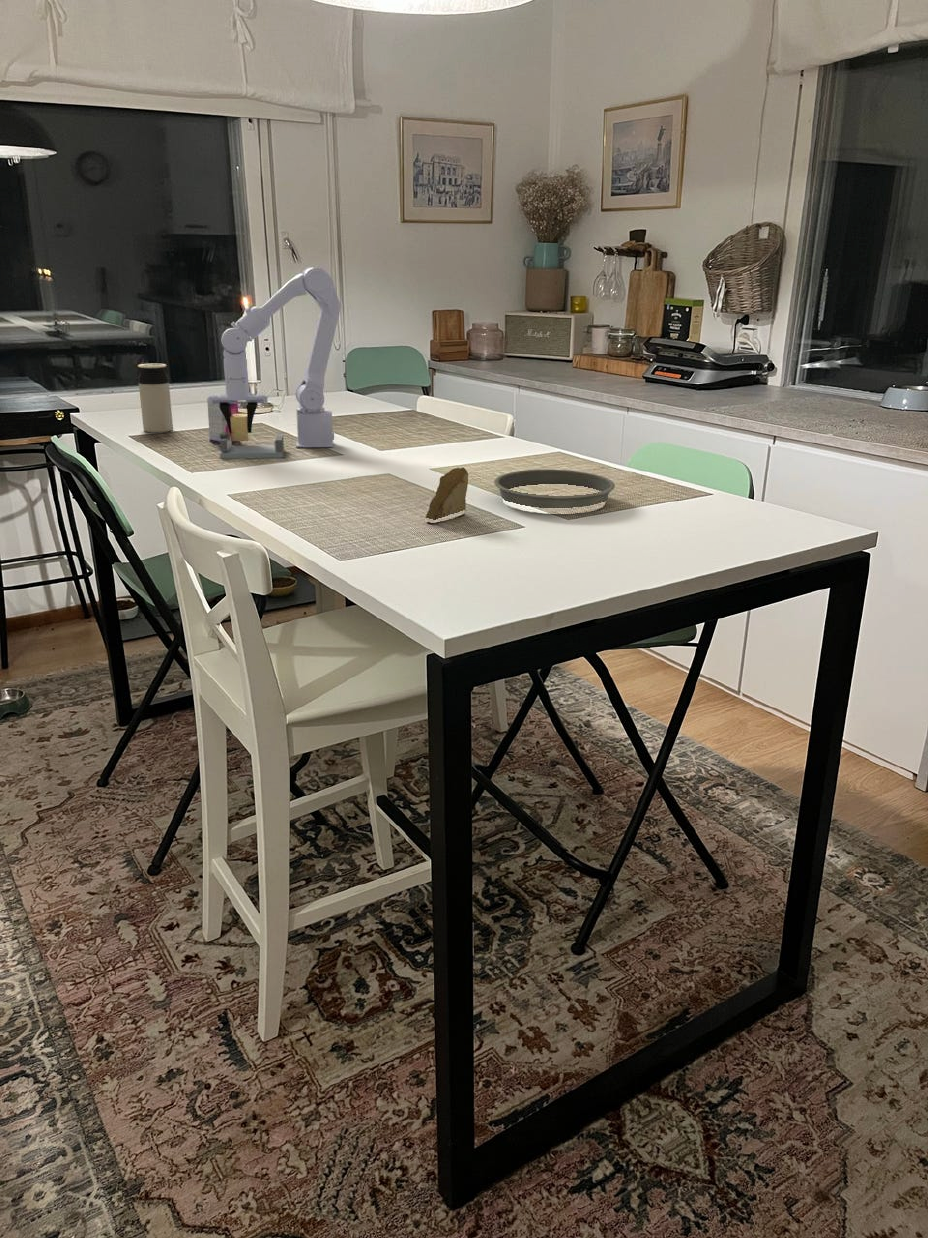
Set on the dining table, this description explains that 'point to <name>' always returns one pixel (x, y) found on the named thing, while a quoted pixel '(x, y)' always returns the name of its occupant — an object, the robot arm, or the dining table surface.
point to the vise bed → (257, 450)
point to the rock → (449, 494)
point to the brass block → (239, 427)
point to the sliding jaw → (225, 441)
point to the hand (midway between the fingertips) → (240, 432)
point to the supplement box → (218, 421)
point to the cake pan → (553, 477)
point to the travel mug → (155, 398)
